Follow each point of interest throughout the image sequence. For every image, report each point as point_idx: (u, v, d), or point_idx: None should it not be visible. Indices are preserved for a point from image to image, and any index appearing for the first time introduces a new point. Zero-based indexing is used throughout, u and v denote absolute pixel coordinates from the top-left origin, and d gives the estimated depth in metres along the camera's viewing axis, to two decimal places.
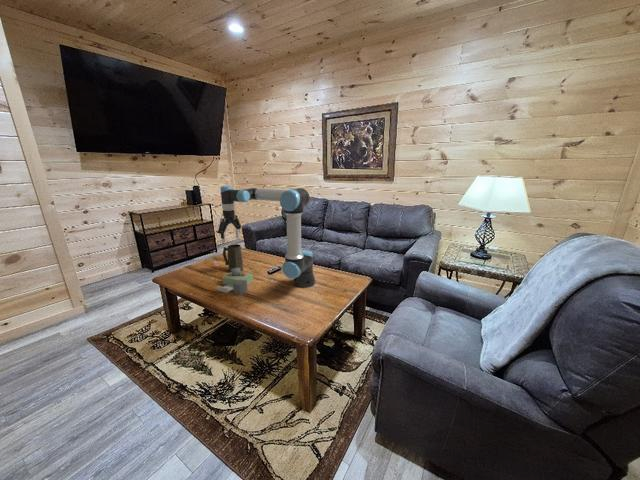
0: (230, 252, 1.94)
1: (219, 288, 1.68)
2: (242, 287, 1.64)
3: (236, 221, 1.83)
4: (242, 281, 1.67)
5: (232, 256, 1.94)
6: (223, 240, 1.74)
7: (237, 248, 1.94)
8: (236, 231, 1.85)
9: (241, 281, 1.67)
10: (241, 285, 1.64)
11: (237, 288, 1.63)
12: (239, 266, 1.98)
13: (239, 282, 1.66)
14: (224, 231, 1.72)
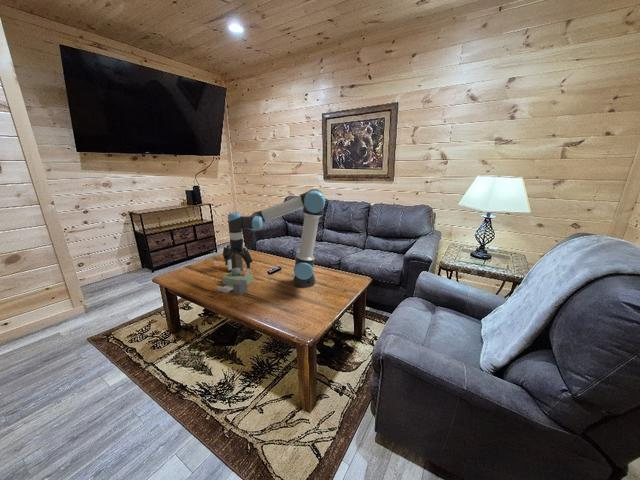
0: None
1: (219, 288, 1.68)
2: (242, 287, 1.64)
3: None
4: (242, 281, 1.67)
5: (232, 256, 1.94)
6: None
7: None
8: None
9: (241, 281, 1.67)
10: (241, 285, 1.64)
11: (237, 288, 1.63)
12: (239, 266, 1.98)
13: (238, 282, 1.66)
14: (227, 258, 1.63)
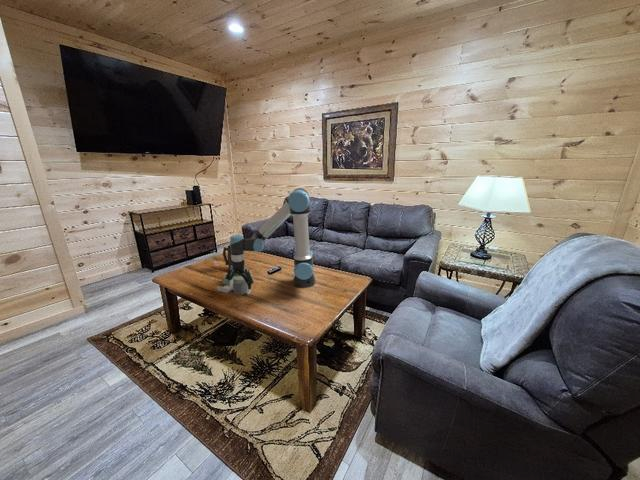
0: (230, 252, 1.94)
1: (219, 288, 1.68)
2: (242, 287, 1.64)
3: None
4: (242, 281, 1.67)
5: None
6: None
7: None
8: None
9: (241, 281, 1.67)
10: (241, 285, 1.64)
11: (237, 288, 1.63)
12: None
13: (238, 282, 1.66)
14: (229, 278, 1.67)
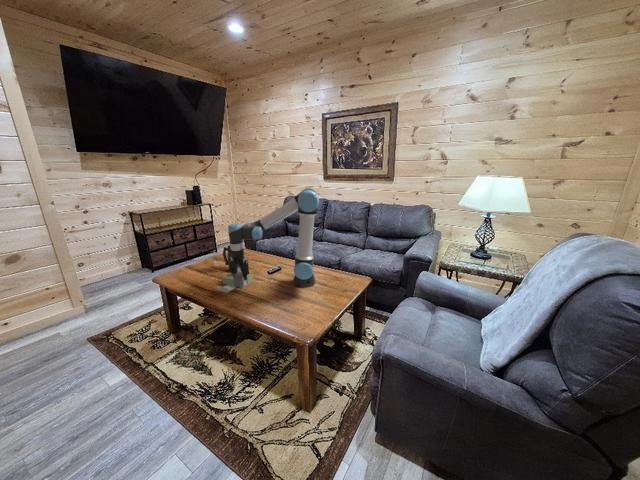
0: (230, 252, 1.94)
1: (219, 288, 1.68)
2: None
3: None
4: None
5: None
6: None
7: None
8: None
9: (241, 273, 1.65)
10: (241, 277, 1.62)
11: (237, 280, 1.62)
12: (239, 266, 1.98)
13: (239, 274, 1.64)
14: (234, 271, 1.64)
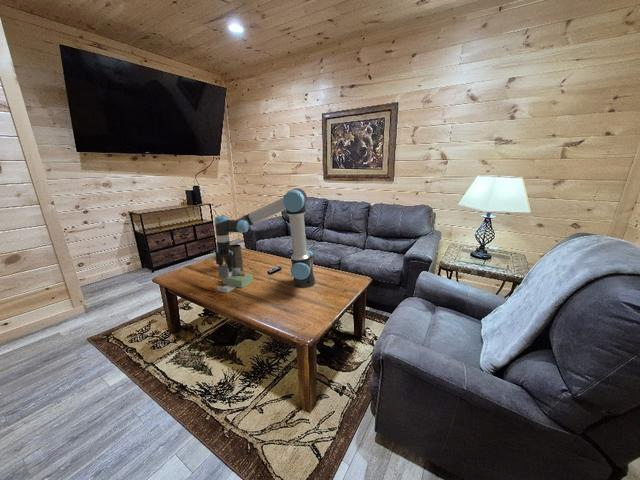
0: None
1: (219, 288, 1.68)
2: None
3: None
4: (227, 265, 1.69)
5: None
6: None
7: (237, 248, 1.94)
8: None
9: (226, 265, 1.69)
10: (226, 268, 1.66)
11: (222, 271, 1.65)
12: (239, 266, 1.98)
13: (224, 265, 1.68)
14: (219, 263, 1.68)
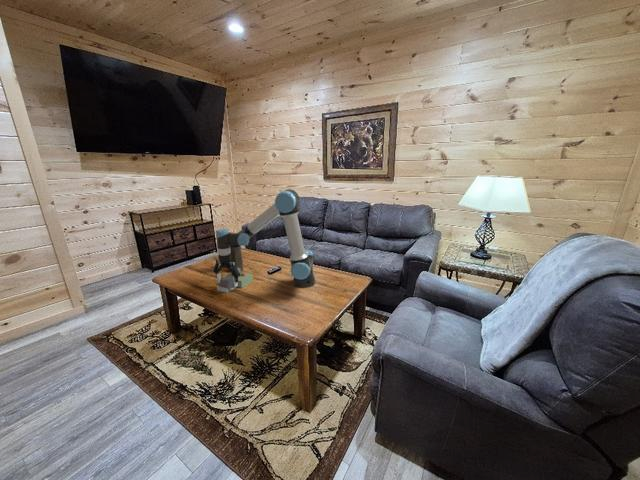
0: None
1: (219, 288, 1.68)
2: (228, 283, 1.69)
3: None
4: (229, 277, 1.71)
5: (232, 256, 1.94)
6: None
7: (237, 248, 1.94)
8: None
9: (228, 277, 1.71)
10: (228, 281, 1.68)
11: (224, 284, 1.68)
12: (239, 266, 1.98)
13: (225, 278, 1.70)
14: (217, 272, 1.71)
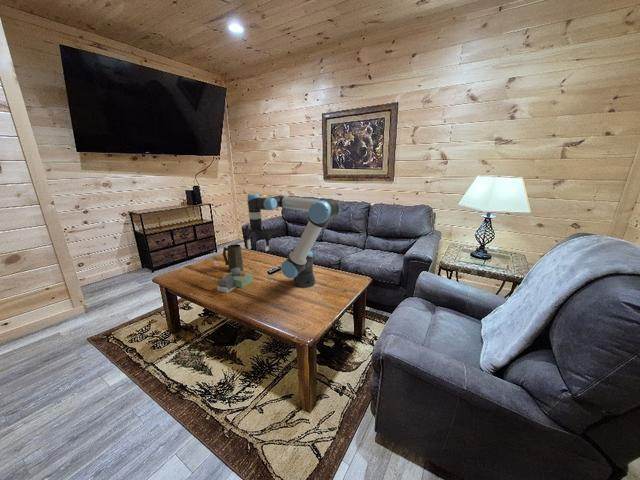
0: (230, 252, 1.94)
1: (219, 288, 1.68)
2: (228, 283, 1.69)
3: None
4: (229, 277, 1.71)
5: (232, 256, 1.94)
6: None
7: (237, 248, 1.94)
8: None
9: (228, 277, 1.71)
10: (228, 281, 1.68)
11: (224, 284, 1.68)
12: (239, 266, 1.98)
13: (225, 278, 1.70)
14: (247, 237, 1.75)
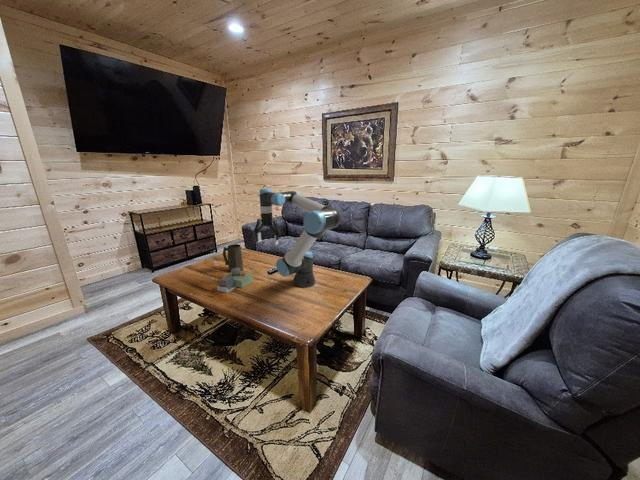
0: (230, 252, 1.94)
1: (219, 288, 1.68)
2: (228, 283, 1.69)
3: None
4: (229, 277, 1.71)
5: (232, 256, 1.94)
6: None
7: (237, 248, 1.94)
8: None
9: (228, 277, 1.71)
10: (228, 281, 1.68)
11: (224, 284, 1.68)
12: (239, 266, 1.98)
13: (225, 278, 1.70)
14: (258, 231, 1.78)
